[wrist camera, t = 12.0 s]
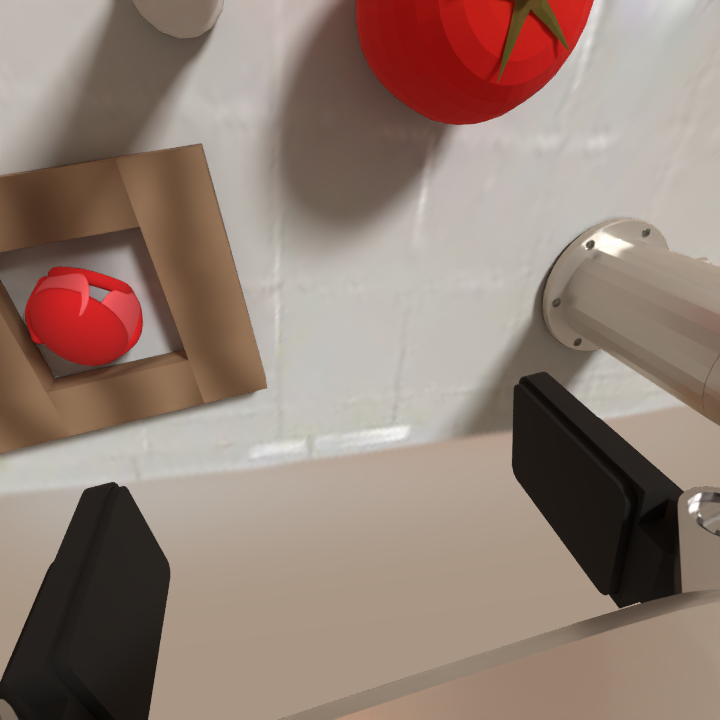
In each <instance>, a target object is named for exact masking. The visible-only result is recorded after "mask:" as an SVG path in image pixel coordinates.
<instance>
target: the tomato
mask: <svg viewBox="0 0 720 720" xmlns="http://www.w3.org/2000/svg"><path fill="white" fill-rule="evenodd" d="M593 1H594V0H356V9H357V28H358V34H359V39H360V44H361V49H362V51H363V53H364V55H365V58H366V60H367V62H368V65H369V67H370V69H371V70H372V71H373V72H374V74H375V75H376V76H377V78H378V79H379V80H380V82H381V83H382V84H383V85H384V86H385V87H386V88H387V89H388V90H389V91H390V92H391V93H392V94H393V95H394V96H395V97H396V98H398V99H399V100H400V101H402V102H403V103H404V104H406V105H407V106H409V107H410V108H411V109H413V110H415V111H416V112H418V113H420V114H422V115H424V116H425V117H427V118H429V119H431V120H434V121H438V122H442V123H446V124H455V125H464V124H476V123H480V122H485V121H488V120H490V119H493V118H496V117H499V116H501V115H503V114H505V113H507V112H508V111H510V110H512V109H513V108H515V107H517V106H518V105H520V104H521V103H523V102H524V101H526V100H527V99H529V98H530V97H531V96H533V95H534V94H535V93H537V92H538V91H539V90H540V89H542V88H543V87H544V86H545V85H546V84H547V83H548V82H549V81H550V80H551V79H552V78H553V77H554V76H555V75H556V73H557V72H558V71H559V69H560V68H561V66H562V65H563V64H564V62H565V61H566V59H567V58H568V57H569V55H570V54H571V52H572V51H573V49H574V48H575V46H576V44H577V42H578V40H579V38H580V36H581V34H582V32H583V30H584V28H585V26H586V23H587V20H588V17H589V14H590V11H591V7H592V4H593Z"/></svg>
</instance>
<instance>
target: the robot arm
mask: <svg viewBox="0 0 720 720" xmlns="http://www.w3.org/2000/svg"><path fill="white" fill-rule="evenodd" d="M542 305H543V317H544V320H545V324H546V326H547V328H548V330H549V331H550V333H551V334H552V335H553V336H554V337H555V338H556V339H557V340H558V341H559V342H561V343H562V344H564V345H565V346H567V347H569V348H572V349H574V350H581V351H590V350H597V349H602V350H604V351H605V352H607V353H608V354H610V355H611V356H613V357H614V358H616V359H617V360H619V361H621V362H622V363H624V364H625V365H627V366H628V367H630V368H631V369H633V370H634V371H636V372H637V373H639V374H640V375H642V376H644V377H645V378H647V379H648V380H650V381H651V382H653V383H654V384H656V385H657V386H659V387H660V388H662V389H663V390H665V391H666V392H668V393H670V394H671V395H673V396H674V397H676V398H677V399H679V400H680V401H682V402H683V403H685V404H686V405H688V406H689V407H691V408H693V409H694V410H696V411H697V412H699V413H700V414H702V415H703V416H705V417H706V418H708V419H709V420H711V421H713V422H714V423H716V424H717V425H719V426H720V267H719V266H715V265H712V264H711V262H710V260H709V259H708V258H705V257H702V258H698V259H694V258H691V257H688V256H685V255H682V254H679V253H676V252H673V251H670V250H669V248H668V245H667V242H666V239H665V238H664V236H663V235H662V233H661V232H660V231H659V230H658V229H657V228H656V227H655V226H653V225H652V224H649V223H647V222H645V221H641V220H637V219H633V218H617V219H612V220H607V221H605V222H603V223H600V224H598V225H596V226H594V227H592V228H591V229H589V230H587V231H586V232H584V233H583V234H582V235H580V236H579V237H578V238H577V239H576V240H575V241H573V242H572V243H571V244H570V246H569V247H568V248H567V249H566V250H565V251H564V252H563V254H562V255H561V256H560V258H559V259H558V261H557V262H556V264H555V266H554V267H553V269H552V272H551V274H550V276H549V278H548V280H547V284H546V287H545V290H544V296H543V304H542ZM512 449H513V450H512V468H513V472H514V475H515V477H516V479H517V480H518V482H519V483H520V484H521V486H522V487H523V488H524V490H525V491H526V493H527V494H528V495H529V497H530V498H531V499H532V501H533V502H534V504H535V505H536V506H537V508H538V509H539V510H540V512H541V513H542V514H543V516H544V517H545V519H546V520H547V521H548V523H549V524H550V525H551V526H552V528H553V529H554V531H555V532H556V533H557V535H558V536H559V537H560V539H561V540H562V542H563V543H564V544H565V546H566V547H567V549H568V550H569V551H570V552H571V554H572V555H573V557H574V558H575V559H576V561H577V562H578V564H579V565H580V566H581V568H582V569H583V570H584V572H585V573H586V574H587V576H588V577H589V579H590V580H591V581H592V583H593V584H594V585H595V587H596V588H597V589H598V590H599V592H600V593H602V594H603V595H608V594H609V595H610V597H611V598H612V599H613V601H614V602H615V603H616V604H617V606H618V607H619V608H622V607H626V606H629V605H632V604H635V603H638V602H640V603H641V604H638V605H635V606H631V607H628V608H625V609H621V610H618V611H615V612H611V613H608V614H604V615H601V616H598V617H595V618H591V619H588V620H584V621H581V622H578V623H575V624H572V625H568V626H565V627H562V628H559V629H556V630H553V631H550V632H547V633H543V634H540V635H537V636H534V637H531V638H528V639H525V640H521V641H518V642H515V643H512V644H509V645H506V646H503V647H500V648H496V649H493V650H490V651H487V652H484V653H481V654H478V655H474V656H471V657H468V658H465V659H462V660H459V661H456V662H453V663H450V664H447V665H444V666H441V667H438V668H435V669H431V670H428V671H425V672H422V673H419V674H416V675H413V676H410V677H407V678H404V679H400V680H398V681H394V682H392V683H389V684H385V685H382V686H379V687H376V688H373V689H370V690H367V691H364V692H361V693H358V694H355V695H351V696H349V697H345V698H342V699H339V700H336V701H333V702H330V703H327V704H324V705H321V706H318V707H315V708H312V709H309V710H306V711H303V712H300V713H297V714H294V715H291V716H288V717H285V718H282V719H279V720H720V488H717V487H709V486H703V487H694V488H691V489H689V490H686V491H685V492H684V491H682V490H681V489H680V488H679V487H678V486H677V485H676V484H675V483H673V482H672V481H671V480H670V479H669V478H668V477H666V476H665V475H664V474H663V473H662V472H661V471H660V470H659V469H657V468H656V467H655V466H654V465H653V464H651V462H649V461H648V460H647V459H646V458H645V457H644V456H642V455H641V454H640V453H639V452H638V451H637V450H636V449H634V448H633V447H632V446H631V445H630V444H629V443H628V442H626V441H625V440H624V439H623V438H622V437H621V436H620V435H618V434H617V433H616V432H615V431H614V430H613V429H612V428H611V427H609V426H608V425H607V424H606V423H605V422H604V421H603V420H601V419H600V418H598V417H597V416H596V415H595V414H593V413H592V412H591V411H590V410H589V409H588V408H587V407H586V406H584V405H583V404H582V403H581V402H580V401H579V400H578V399H576V398H575V397H574V396H573V395H572V394H571V393H570V392H568V391H567V390H566V389H565V388H564V387H563V386H562V385H560V384H559V383H558V382H557V381H556V380H555V379H554V378H552V377H551V376H550V375H549V374H548V373H546V372H540V373H536V374H532V375H528V376H525V377H522V378H521V379H520V381H519V384H517V385H515V387H514V400H513V446H512ZM169 582H170V567H169V563H168V561H167V559H166V557H165V555H164V553H163V551H162V550H161V548H160V546H159V544H158V543H157V541H156V539H155V537H154V535H153V533H152V532H151V530H150V528H149V526H148V525H147V523H146V521H145V519H144V517H143V515H142V514H141V512H140V510H139V508H138V506H137V505H136V503H135V501H134V499H133V497H132V495H131V494H130V492H129V490H128V489H127V487H125V486H121V487H119V486H118V484H116V483H115V482H111V483H107V484H103V485H99V486H95V487H91V488H87V489H86V490H84V492H83V493H82V496H81V498H80V500H79V503H78V505H77V508H76V510H75V512H74V515H73V517H72V520H71V522H70V524H69V527H68V529H67V531H66V534H65V536H64V539H63V541H62V544H61V546H60V548H59V551H58V553H57V555H56V558H55V560H54V562H53V563H52V564H51V565H50V567H49V569H48V570H47V573H46V575H45V577H44V580H43V582H42V584H41V587H40V589H39V592H38V594H37V596H36V599H35V601H34V603H33V606H32V608H31V610H30V613H29V615H28V618H27V620H26V622H25V625H24V627H23V629H22V632H21V634H20V637H19V639H18V642H17V643H16V646H15V648H14V651H13V653H12V656H11V658H10V660H9V662H8V665H7V667H6V670H5V672H4V674H3V677H2V679H1V681H0V720H148V715H149V710H150V703H151V697H152V691H153V684H154V678H155V671H156V665H157V659H158V653H159V646H160V640H161V633H162V627H163V621H164V614H165V608H166V601H167V595H168V589H169Z"/></svg>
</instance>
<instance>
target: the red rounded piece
mask: <svg viewBox="0 0 720 720" xmlns="http://www.w3.org/2000/svg"><path fill="white" fill-rule="evenodd" d="M89 285H91V286H94V287H98V288H101V289H104V290H108V291H111V292H110V293H109V294H108V295H107V296H106V297H105V298H104V299H103V301H102V303H101V302H99V301H97V300H96V299H94V298H92V297H90V296H89ZM25 318H26V323H27V326H28V329H29V332H30V335H31V338H32V340H33V341H34V342H35V343H37V344H43V343H44V344H45V345H46V346H47V347H48V348H49V349H50V350H51V351H53V352H54V353H56V354H57V355H59V356H60V357H62V358H64V359H66V360H68V361H71V362H74V363H77V364H82V365H89V366H96V365H103V364H107V363H110V362H112V361H114V360H116V359H117V358H118V357H119V356H122V355H124V354H125V353H126V352H128V351H129V350H130V349H131V348H132V347H133V346H134V345H135V344H136V343H137V342H138V340H139V338H140V335H141V332H142V326H143V318H142V310H141V306H140V303H139V301H138V299H137V297H136V296H135V293H134V292H133V290H132V288H131V287H130V286H129V285H128V284H126V283H125V282H122V281H120V280H118V279H115V278H112V277H110V276H107V275H104V274H100V273H97V272H93V271H90V270H85V269H79V268H71V267H54V268H52V269H50V271H49V272H48V277H47V276H45V277H42V278H40V279H39V281H38V283H37V285H36V287H35V288H34V290H33V292H32V294H31V296H30V298H29V300H28V302H27V305H26V309H25Z"/></svg>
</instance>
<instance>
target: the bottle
mask: <svg viewBox="0 0 720 720" xmlns="http://www.w3.org/2000/svg"><path fill="white" fill-rule="evenodd" d="M132 1H133V3H134V5H135V6H136V8H137V9H138V11H139V12H140V14H141V16H142V17H144V18H145V19H146V20H147V21H148V22H150V23H151V24H152V25H153V26H154V27H156V28H157V29H158V30H159V31H161V32H163V33H166V34H168V35H171V36H174V37H177V38H180V39H181V38H192V37H199V36H200V35H202V34H203V33H205V32H206V31H208V30H209V29H211V28H212V27H213V26H214V24H215V22H216V21H217V19H218V17H219V15H220V14H221V12H222V9H223V1H224V0H132Z"/></svg>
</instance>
